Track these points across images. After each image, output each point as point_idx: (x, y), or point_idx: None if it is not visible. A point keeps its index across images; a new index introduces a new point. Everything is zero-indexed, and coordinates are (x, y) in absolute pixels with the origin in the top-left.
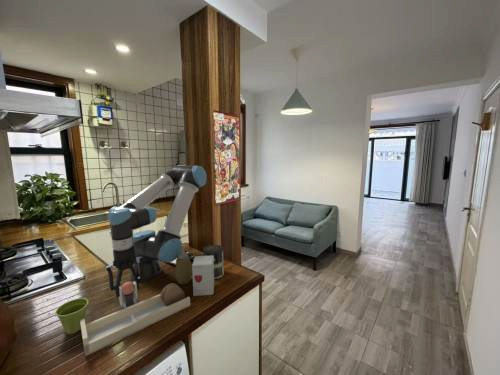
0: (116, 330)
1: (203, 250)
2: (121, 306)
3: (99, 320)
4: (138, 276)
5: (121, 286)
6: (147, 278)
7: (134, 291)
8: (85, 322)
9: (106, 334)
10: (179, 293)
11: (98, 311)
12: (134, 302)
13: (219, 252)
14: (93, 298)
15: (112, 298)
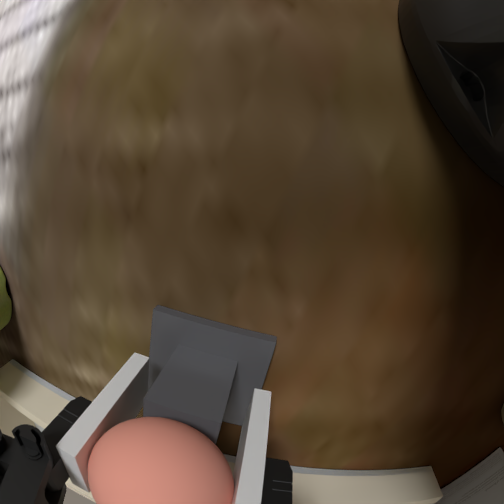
0: (93, 499)
1: None
2: (151, 361)
3: (33, 420)
4: (464, 75)
5: (88, 471)
6: (498, 171)
7: (242, 445)
8: (3, 319)
9: (66, 484)
10: None
11: (52, 252)
12: (235, 398)
13: None
14: (84, 57)
15: (151, 162)
